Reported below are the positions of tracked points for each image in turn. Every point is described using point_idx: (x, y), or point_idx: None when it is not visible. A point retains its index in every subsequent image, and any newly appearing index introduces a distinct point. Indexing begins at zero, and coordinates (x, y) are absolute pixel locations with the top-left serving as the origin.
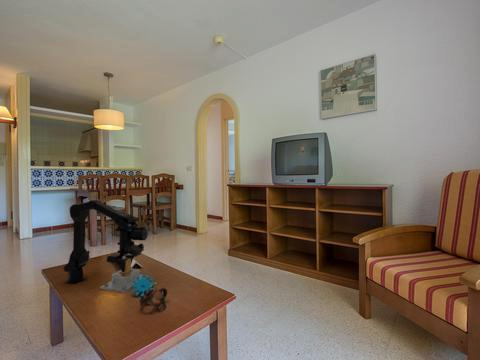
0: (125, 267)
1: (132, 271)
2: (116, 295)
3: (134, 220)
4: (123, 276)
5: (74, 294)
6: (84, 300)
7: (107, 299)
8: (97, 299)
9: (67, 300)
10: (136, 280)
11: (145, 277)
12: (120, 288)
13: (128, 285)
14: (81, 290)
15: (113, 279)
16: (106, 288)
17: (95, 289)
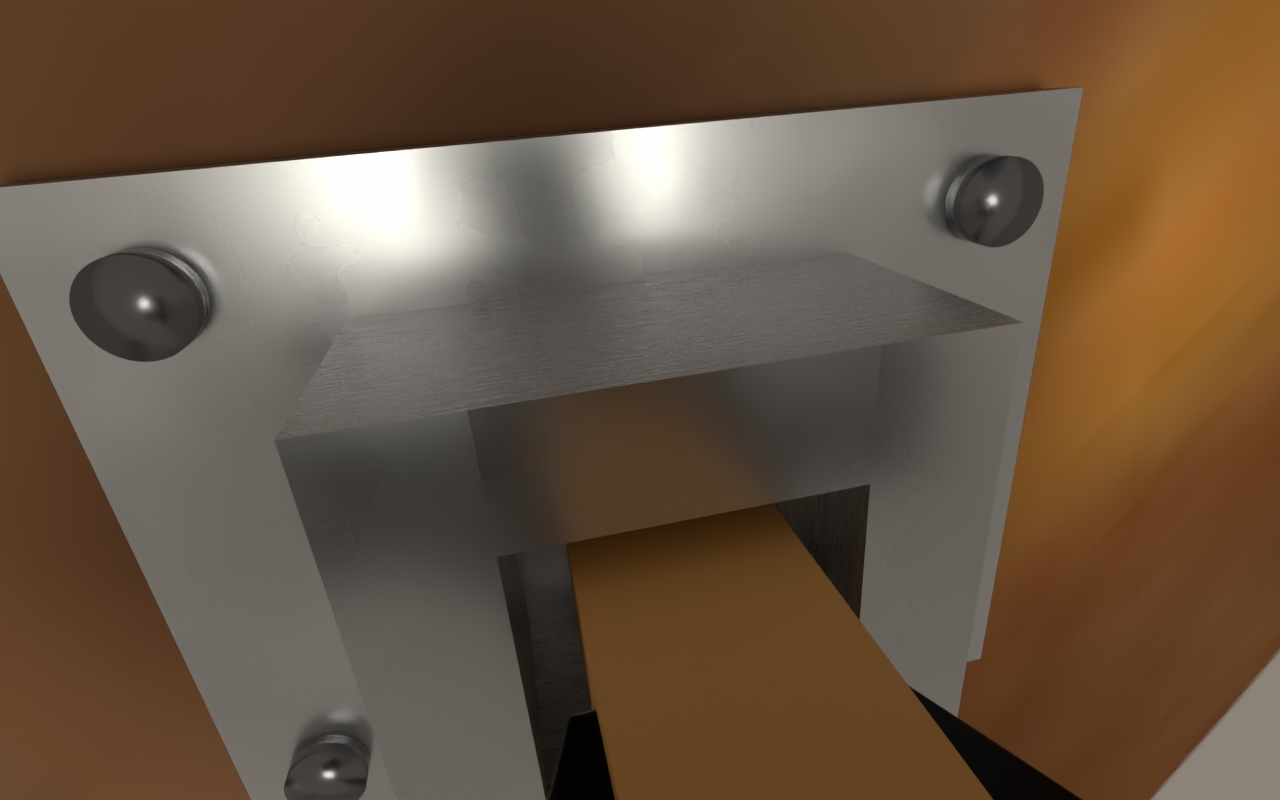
0: (928, 763)
1: (586, 523)
2: (1142, 169)
3: None
4: (987, 455)
5: (1122, 739)
6: (1275, 499)
7: (1276, 201)
8: (1262, 362)
9: (1257, 663)
10: (511, 281)
11: (194, 184)
12: (991, 281)
13: (827, 233)
14: None
15: None
16: (993, 539)
17: (974, 672)
